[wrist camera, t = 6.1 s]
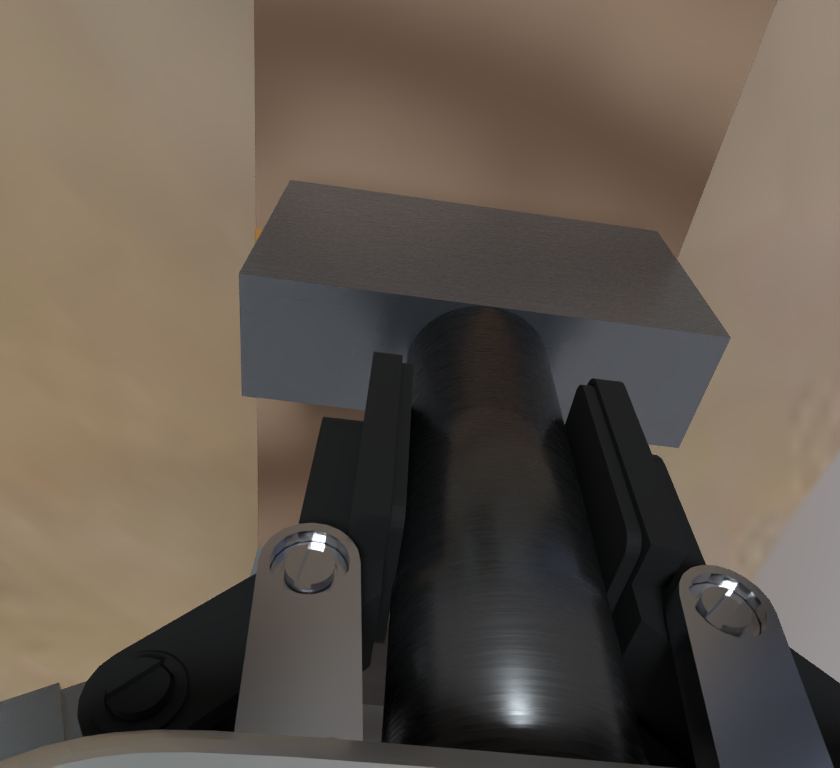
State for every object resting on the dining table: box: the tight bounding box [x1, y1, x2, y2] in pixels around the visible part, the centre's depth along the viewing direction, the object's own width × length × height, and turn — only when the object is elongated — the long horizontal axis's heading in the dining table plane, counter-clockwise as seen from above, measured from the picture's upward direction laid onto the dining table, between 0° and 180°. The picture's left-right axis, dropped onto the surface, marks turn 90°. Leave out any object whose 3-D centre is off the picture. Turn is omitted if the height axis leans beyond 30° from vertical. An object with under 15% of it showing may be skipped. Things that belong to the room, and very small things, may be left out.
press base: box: [250, 0, 777, 742], centre depth 20 cm, size 26×12×8 cm, turn 172°
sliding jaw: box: [239, 180, 731, 765], centre depth 12 cm, size 3×10×16 cm, turn 82°
